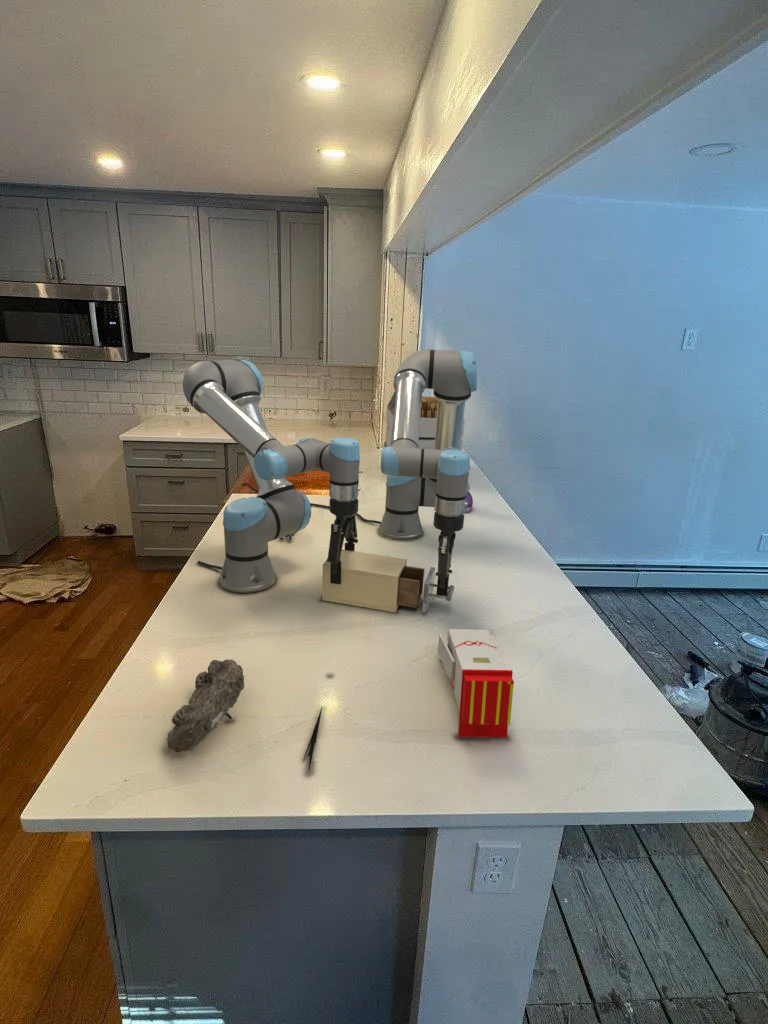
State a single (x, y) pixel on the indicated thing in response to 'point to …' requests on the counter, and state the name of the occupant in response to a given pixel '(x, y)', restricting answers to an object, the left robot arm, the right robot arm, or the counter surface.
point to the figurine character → (288, 536)
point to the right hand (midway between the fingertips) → (441, 596)
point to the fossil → (206, 705)
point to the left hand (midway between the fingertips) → (342, 573)
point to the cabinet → (365, 580)
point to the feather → (313, 740)
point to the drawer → (418, 588)
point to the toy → (478, 682)
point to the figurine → (468, 500)
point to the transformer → (426, 422)
